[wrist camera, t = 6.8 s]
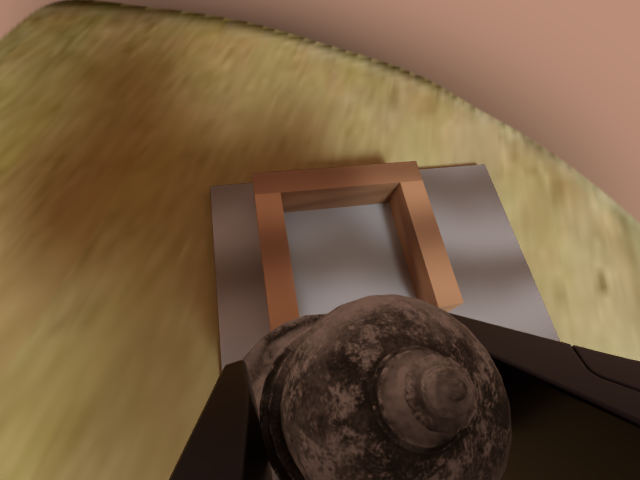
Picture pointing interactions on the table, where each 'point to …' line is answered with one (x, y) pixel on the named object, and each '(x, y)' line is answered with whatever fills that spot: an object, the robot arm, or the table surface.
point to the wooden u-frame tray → (366, 248)
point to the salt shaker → (380, 396)
